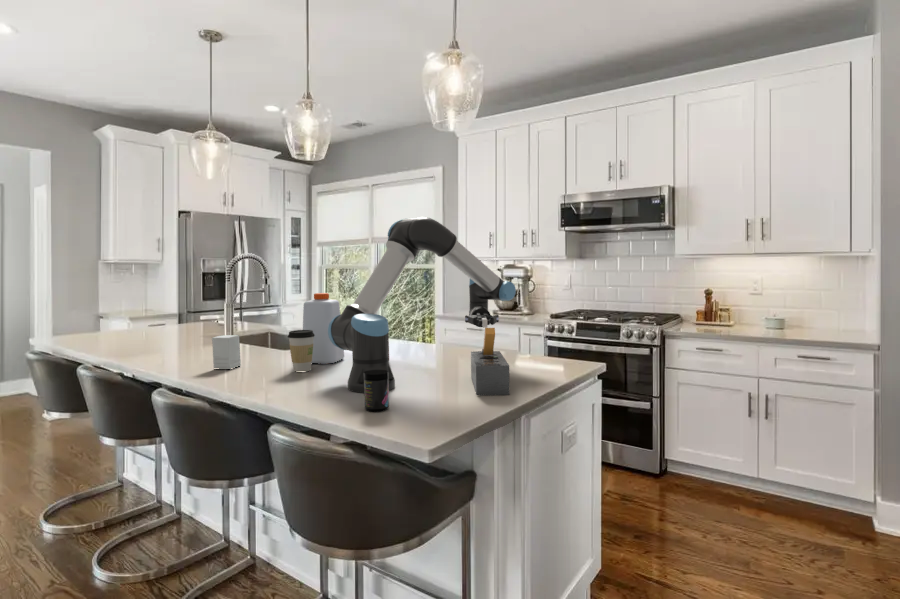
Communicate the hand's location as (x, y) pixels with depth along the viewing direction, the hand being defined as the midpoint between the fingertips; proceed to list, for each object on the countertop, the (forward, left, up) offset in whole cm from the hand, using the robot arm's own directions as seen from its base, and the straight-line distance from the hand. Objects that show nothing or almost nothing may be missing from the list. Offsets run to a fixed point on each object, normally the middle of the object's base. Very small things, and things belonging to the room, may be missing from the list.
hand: (485, 323), depth 188 cm
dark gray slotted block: (-3, -5, -19) cm, 20 cm away
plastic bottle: (-37, +63, -19) cm, 76 cm away
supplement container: (-48, -17, -19) cm, 55 cm away
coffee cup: (-50, +48, -19) cm, 72 cm away
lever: (-5, -8, -8) cm, 13 cm away
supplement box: (-73, +70, -19) cm, 103 cm away
